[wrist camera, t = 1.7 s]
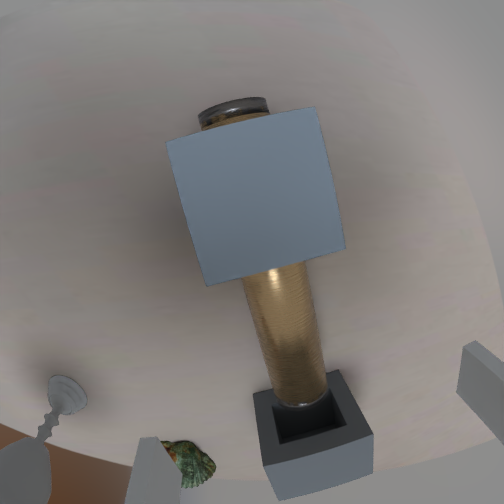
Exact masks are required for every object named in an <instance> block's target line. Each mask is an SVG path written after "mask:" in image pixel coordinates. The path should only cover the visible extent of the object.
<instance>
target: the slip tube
mask: <svg viewBox="0 0 504 504" xmlns="http://www.w3.org/2000/svg"><path fill="white" fill-rule="evenodd" d="M267 115H270V114H269V110H268V106H267V103H266V99H265V98H262V97H250V98H242V99H237V100H233V101H229V102H225V103H222V104H219V105H216V106H213V107H211V108H208V109H206V110H204V111H203V112H201V113H200V114H199V115H198V118H199V122H200V126H201V130H202V131H205V130H209V129H213V128H216V127H220V126H224V125H228V124H232V123H236V122H240V121H245V120H249V119H253V118H258V117H263V116H267ZM241 279H242V282H243V286H244V290H245V293H246V297H247V300H248V304H249V307H250V311H251V314H252V318H253V321H254V325H255V328H256V332H257V335H258V339H259V342H260V346H261V349H262V353H263V356H264V360H265V363H266V366H267V370H268V373H269V377H270V380H271V384H272V387H273V390H274V394H275V397H276V400H277V403H278V404H279V405H280V406H281V407H282V408H284V409H286V410H290V411H304V410H308V409H311V408H313V407H315V406H317V405H319V404H320V403H321V402H322V401H323V400H324V399H325V398H326V396H327V394H328V385H327V379H326V372H325V366H324V361H323V355H322V349H321V343H320V338H319V332H318V327H317V321H316V316H315V311H314V306H313V300H312V295H311V290H310V285H309V280H308V275H307V270H306V266H305V261H301V262H297V263H294V264H290V265H286V266H283V267H279V268H275V269H272V270H268V271H264V272H260V273H257V274H253V275H249V276H245V277H241Z"/></svg>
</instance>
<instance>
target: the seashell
mask: <svg viewBox="0 0 504 504" xmlns="http://www.w3.org/2000/svg"><path fill="white" fill-rule="evenodd" d="M160 442H161V444H162V445H163V447H164V448H165V450H166V451H167V453H168V454H169V456H170V457H171V459H172V460H173V461H174V463H175V464H176V466H177V467H178V469H179V470H180V471H181V473H182V483H181V488H182V487H184V488H188V487H190V488H193V487H194V486H197V487H198V486H199V484H203V483H204V481H207V480H208V478H211V477H212V476H213V473H214V472H215V470H216V465H215V463H214V462H213V461H212V460H211V459H210V458H209V456H208V455H207V454H206V453H203V452H201V451H199V450H198V449H196V447H195V446H194V444H193V443H191V442H189V441H184V442H181V443H171V442H168V441H160Z"/></svg>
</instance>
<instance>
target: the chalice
mask: <svg viewBox="0 0 504 504" xmlns="http://www.w3.org/2000/svg"><path fill="white" fill-rule="evenodd" d="M48 386H49V387H48V400H49V403H50V405H51V406H52V408H53V409H52V411H51V412H50V413H49V414H45V415H44V418H45V423H44V424H43V425H41V426H39V427H38V430H39V431H38V435H37V437H36V438H35V439H34V438H31V437H26V438H23V439H21V440H19V441H17V442H14V443H12V444H10V445H8V446H6V447H5V448H3V449H2V450H0V504H47V501H48V499H49V497H50V494H51V468H50V459H49V452H48V450H47V448H46V447H45V446H44V441H45V440H46V439H47V438H48V437H51V436H52V433H51V429H52V427H53V426H58V425H59V421H58V416H59V415H60V414H63V415H71V414H74V413H75V412H77V411H79V410H80V409H82V408H84V407H85V406H86V403H87V398H86V394H85V392H84V391H83V389H82V388H81V387H80V386H79V385H78V384H77V383H76V382H75V381H73V380H72V379H70V378H68V377H65V376H61V375H56V376H53V377H51V379H50V380H49V385H48Z"/></svg>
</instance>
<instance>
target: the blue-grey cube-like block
mask: <svg viewBox="0 0 504 504" xmlns="http://www.w3.org/2000/svg"><path fill="white" fill-rule="evenodd" d="M165 143H166V147H167V151H168V155H169V159H170V163H171V167H172V170H173V174H174V178H175V182H176V185H177V189H178V193H179V196H180V200H181V203H182V207H183V210H184V214H185V217H186V221H187V224H188V228H189V231H190V235H191V238H192V241H193V245H194V248H195V251H196V255H197V258H198V261H199V264H200V268H201V271H202V274H203V277H204V281H205V284H206V287H207V286H211V285H215V284H219V283H222V282H226V281H230V280H234V279H238V278H241V277H245V276H249V275H253V274H257V273H260V272H264V271H268V270H272V269H275V268H279V267H283V266H286V265H290V264H294V263H297V262H301V261H305V260H308V259H312V258H316V257H319V256H323V255H326V254H330V253H333V252H337V251H341V250H344V249H346V246H345V240H344V234H343V229H342V223H341V218H340V213H339V208H338V203H337V198H336V193H335V188H334V183H333V179H332V174H331V170H330V165H329V161H328V157H327V152H326V148H325V144H324V140H323V136H322V132H321V128H320V124H319V120H318V116H317V113H316V109H315V107H309V108H303V109H298V110H292V111H287V112H282V113H277V114H272V115H267V116H263V117H258V118H253V119H249V120H245V121H240V122H236V123H232V124H228V125H224V126H220V127H216V128H213V129H209V130H205V131H201V132H198V133H194V134H191V135H187V136H184V137H181V138H177V139H174V140H171V141H167V142H165Z"/></svg>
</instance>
